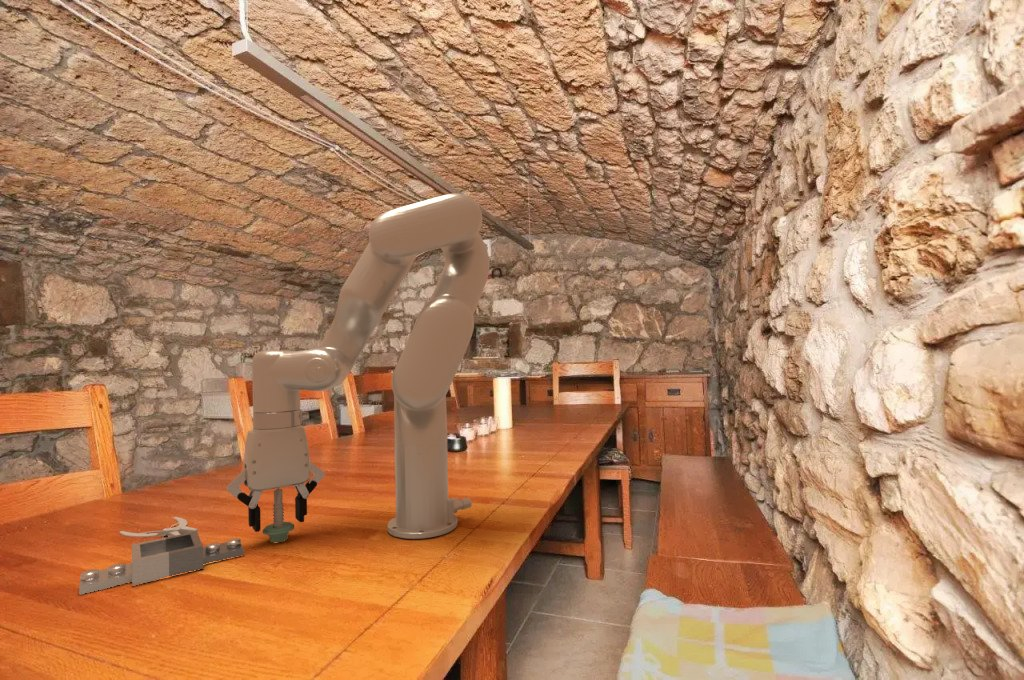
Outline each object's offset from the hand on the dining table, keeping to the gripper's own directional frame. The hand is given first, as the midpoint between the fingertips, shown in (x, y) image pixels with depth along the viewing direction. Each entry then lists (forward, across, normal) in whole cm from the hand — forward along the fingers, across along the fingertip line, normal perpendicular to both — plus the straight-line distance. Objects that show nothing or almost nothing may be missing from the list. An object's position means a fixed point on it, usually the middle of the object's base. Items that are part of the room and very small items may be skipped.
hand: (278, 524), depth 87 cm
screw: (+3, 0, 0) cm, 3 cm away
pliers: (+3, +15, -19) cm, 24 cm away
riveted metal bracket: (+3, +16, +1) cm, 16 cm away
